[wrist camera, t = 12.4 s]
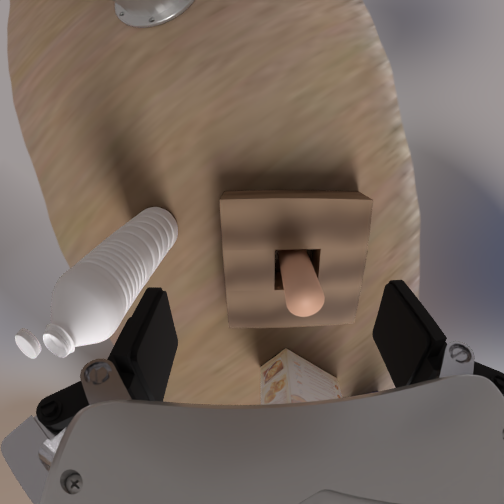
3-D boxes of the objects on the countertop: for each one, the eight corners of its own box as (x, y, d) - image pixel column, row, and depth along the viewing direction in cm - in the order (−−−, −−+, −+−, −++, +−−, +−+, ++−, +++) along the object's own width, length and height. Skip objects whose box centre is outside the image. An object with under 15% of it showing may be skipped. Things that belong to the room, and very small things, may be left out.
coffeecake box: (258, 367, 48) (258, 461, 30) (286, 346, 46) (296, 444, 28) (312, 395, 51) (325, 475, 34) (338, 377, 49) (359, 460, 31)
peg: (278, 240, 38) (286, 284, 27) (306, 240, 38) (326, 283, 27) (277, 266, 39) (285, 317, 28) (305, 266, 39) (322, 315, 28)
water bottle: (170, 200, 36) (56, 303, 13) (184, 244, 38) (107, 381, 15) (118, 217, 37) (-3, 314, 14) (133, 257, 39) (39, 376, 16)
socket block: (224, 191, 35) (219, 199, 31) (358, 191, 35) (372, 200, 30) (231, 308, 42) (229, 328, 38) (345, 304, 42) (353, 323, 37)
